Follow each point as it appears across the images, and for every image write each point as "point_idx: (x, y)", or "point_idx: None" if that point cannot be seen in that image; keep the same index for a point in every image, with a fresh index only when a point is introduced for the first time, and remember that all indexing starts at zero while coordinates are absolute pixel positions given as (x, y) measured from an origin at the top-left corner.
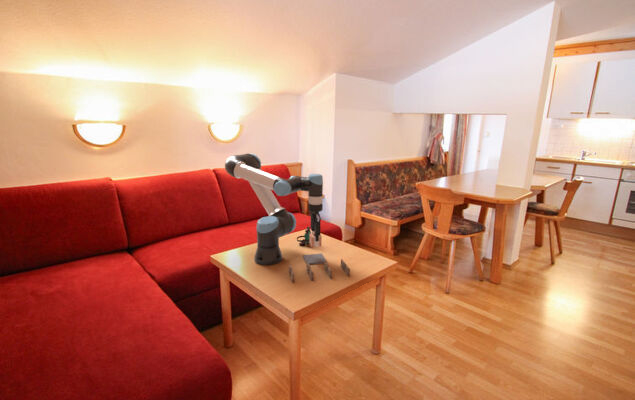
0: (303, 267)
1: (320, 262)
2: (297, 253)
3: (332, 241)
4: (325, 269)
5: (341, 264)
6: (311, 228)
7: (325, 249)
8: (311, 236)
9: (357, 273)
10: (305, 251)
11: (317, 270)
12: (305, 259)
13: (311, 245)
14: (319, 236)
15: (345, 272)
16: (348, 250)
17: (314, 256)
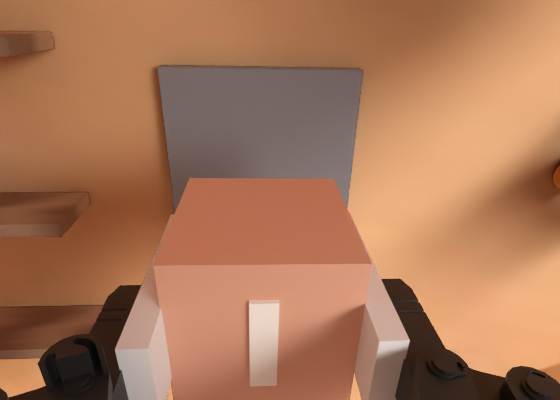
0: (108, 12)
1: (172, 191)
2: (457, 26)
3: (546, 349)
4: (28, 197)
5: (88, 321)
6: (460, 392)
7: (433, 279)
8: (215, 273)
9: (5, 363)
10: (468, 118)
11: (41, 132)
12: (251, 70)
13: (190, 187)
14: (191, 387)
15: (1, 310)
16: (357, 395)
17: (298, 170)
